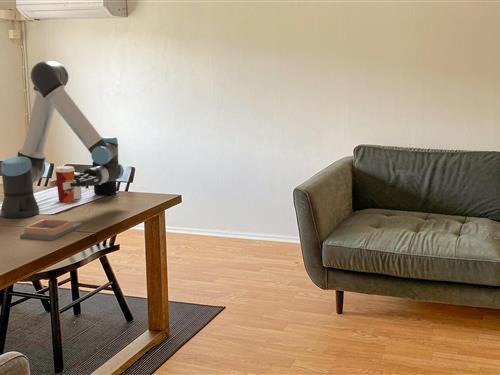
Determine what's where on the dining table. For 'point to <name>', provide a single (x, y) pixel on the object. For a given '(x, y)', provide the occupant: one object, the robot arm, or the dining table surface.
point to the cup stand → (49, 229)
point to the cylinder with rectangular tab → (77, 191)
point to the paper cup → (63, 176)
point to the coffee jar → (105, 186)
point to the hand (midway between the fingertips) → (56, 185)
